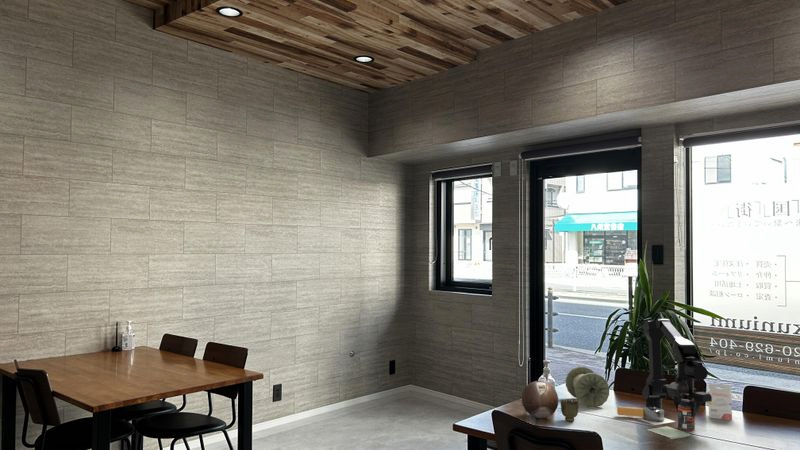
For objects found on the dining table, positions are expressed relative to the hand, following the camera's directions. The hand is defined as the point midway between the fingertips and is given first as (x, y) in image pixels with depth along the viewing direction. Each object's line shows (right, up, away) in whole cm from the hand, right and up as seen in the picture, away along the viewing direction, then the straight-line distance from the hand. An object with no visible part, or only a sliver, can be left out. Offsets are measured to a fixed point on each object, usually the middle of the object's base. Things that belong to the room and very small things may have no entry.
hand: (686, 415), depth 227 cm
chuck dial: (-13, -6, +13) cm, 19 cm away
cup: (-43, -6, +9) cm, 45 cm away
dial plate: (-8, -6, +12) cm, 15 cm away
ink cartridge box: (+22, -7, +16) cm, 28 cm away
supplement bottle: (0, -6, 0) cm, 6 cm away
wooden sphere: (-54, -6, +14) cm, 56 cm away
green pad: (-10, -5, -6) cm, 12 cm away
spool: (-26, -8, +39) cm, 48 cm away
